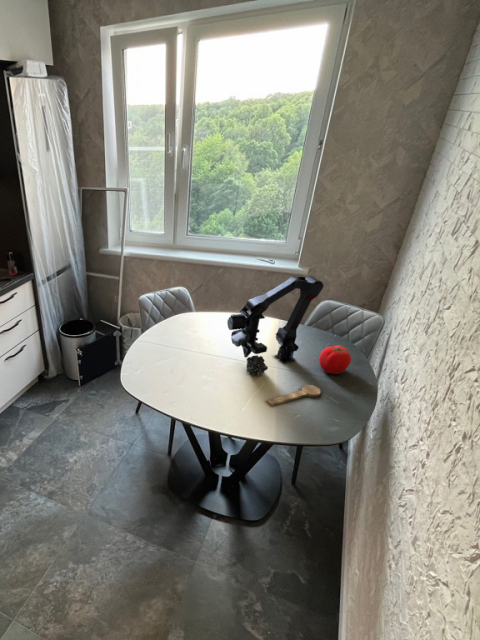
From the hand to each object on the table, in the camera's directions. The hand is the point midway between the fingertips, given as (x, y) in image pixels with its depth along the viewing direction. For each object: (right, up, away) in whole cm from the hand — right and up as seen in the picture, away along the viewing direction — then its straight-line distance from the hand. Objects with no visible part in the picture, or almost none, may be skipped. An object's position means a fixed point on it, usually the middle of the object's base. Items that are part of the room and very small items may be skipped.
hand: (245, 357), depth 186 cm
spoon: (+11, -18, -22) cm, 30 cm away
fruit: (+3, -6, -4) cm, 8 cm away
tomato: (+36, -6, -7) cm, 37 cm away
